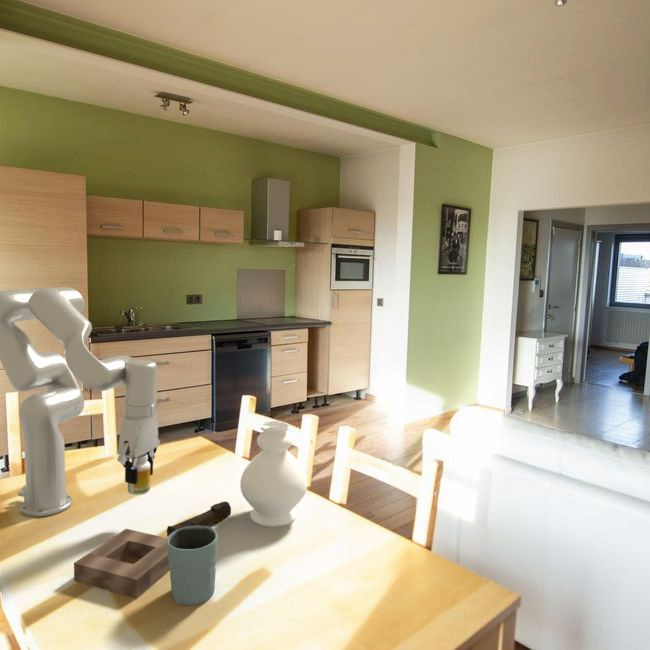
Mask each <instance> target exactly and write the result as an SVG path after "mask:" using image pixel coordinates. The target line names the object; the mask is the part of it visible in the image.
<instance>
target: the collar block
mask: <svg viewBox="0 0 650 650" xmlns="http://www.w3.org/2000/svg"><path fill="white" fill-rule="evenodd" d="M167 538H168V537H163V536H159V535H155V534H152V533H147V532H144V531H138V530H133V529H129V528H125V529H123V530H121V531H120V532H119V533H117V534H115V535H114V536H112V537H111V538H110V539H108V540H107V541H105V542H103V543H102V544H101V545H99V546H98V547H96V548H94V549H93V550H92V551H90V552H88V553H87V554H85V555H83V556H82V557H81V558H79V559H78V560H76V561H75V562H73V578H74V582H76V581H77V582H76V583H80V584H83V583H84V585H87V584H88V585H87V586H91V587H94V586H95V587H94V588H98V589H101V588H102V590H105V589H107V590H106V591H108V590H110V591H109V592H112V591H113V592H112V593H116V594H120V595H123V596H126V597H130V598H135V599H138V598H140V597H141V596H142V595H144V593H145V592H146V591H148V590H149V589H150V588H151V587H152V586H153V585H155V584H156V583H157V582H158V581H159V580H160V579H162V578H163V577H164V576H165V575H166V574H168V572H170V569H169V558H168V548H167ZM128 558H131V559H135V560H138V561H136V562H134V563H130V562H125V561H126V560H127V559H128Z"/></svg>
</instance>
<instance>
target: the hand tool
mask: <svg viewBox="0 0 650 650" xmlns="http://www.w3.org/2000/svg"><path fill="white" fill-rule="evenodd" d="M231 514H232V507H231V505H230V503H229V502H228V501H220V502H219V503H216V504H213V505H211V506H210V509H209V510H206V511H204V512H202V513H200V514H197V515H195V516H193V517H191V518H189V519H186V520H184V521H181V522H178V523H177V524H174V525H168V526H167V528H166V534H167V535H166V538H168V536H169V535H170V534H171V533H172V532H174V531H176V530H178V529H181V528H184V527H188V526H206V527H209V526H210V525H212V524H216V525H217V524H218V525H219V524H220V523H222V522H223V521H225V520H226V519H228V518H229V517H230V516H231Z"/></svg>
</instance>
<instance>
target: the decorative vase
mask: <svg viewBox="0 0 650 650" xmlns="http://www.w3.org/2000/svg"><path fill="white" fill-rule="evenodd" d="M260 430H261V431H262V432H261V433H260V434H259V435H258V436H257V438H256V444H257V446H258V447H259V448H260V449H261V451H260V452H259V453H258V454H257V455H255V456H254V457H253V458H252V459H251V460H250V462H249V463H248V464H247V466H246V467H245V469H244V471H243V472H242V475H241V478H240V492H241V494H242V496H243V498H244V499H245V501H247V503H248V504H249V505H250V506H251V508H252V510H251V511H250V512H249V513H250V514H249V517H250V520H251V522H253V523H255V524H256V525H258V526H261V527H267V528H268V527H269V528H276V527H278V528H279V527H283V525H284V526H287V525H289V524H292V523H293V522H294V521H296V519H297V518H298V514H297V513H298V512H297V510H296V509H295V507H296V506H297V505H298V504H299V503H300V501H301V500H302V499H303V498H304V497H305V495H306V493H307V490H308V477H307V473H306V471H305V469H304V468H303V466H302V465H301V463H300V462H299V460H297V458H296V457H295V456H294V455H293V454H292V453H291V452H289V450H288V449H289V448H290V447H291V446H292V444H293V441H294V440H293V436H292V434H291V433H289V432H288V431H289V430H290V424H289V423H288V422H285V421H280V420H279V421H277V420H274V421H273V420H272V421H267V422H265V421H264V422H263V423H261V424H260Z"/></svg>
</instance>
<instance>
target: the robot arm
mask: <svg viewBox="0 0 650 650" xmlns="http://www.w3.org/2000/svg"><path fill="white" fill-rule="evenodd" d="M84 309H85V299H84V297H83V296H82V294H81V293H80V292H79V291H78V290H77V289H75V288H72V287H71V286H70V287H69V286H63V287H61V286H60V287H58V286H57V287H56V286H55V287H45V288H25V289H24V288H22V289H2V290H0V363H1V365H2V367H3V369H4V372H5V374H6V377H7V378H8V380H9V382H10V384H11V385H12V387H13V388H14V389H15V390H16V391H18V392H29V391H35V390H39V389H42V388H45V387H46V390H44V391H40V392H38V393H35V394H32V395H30V396H28V397H26V398H25V399H24V400H23V401H22V402H21V403H20V406H19V409H18V419H19V422H20V426H21V430H22V436H23V445H24V465H25V468H24V469H25V485H24V486H23V487H22V488H21V490H19V491H18V492H17V495H18V496H19V497H23V500H24V501H23V502H22V503H21V504H20V507H19V508H20V514H23V515H24V516H27V517H45V516H50V515H51V516H52V515H54V514H55V515H56V514H58V513H60V512H63V511H65V510H66V509H67V510H68V509H69V508H70V507H71V506H72V504H73V496H71V495H70V494H68V493H67V488H66V458H65V457H66V455H65V453H66V452H65V451H66V450H65V449H66V448H65V440H64V436H63V434H62V432H61V431H60V430H59V427H58V425H60V424H62V423H65V422H66V421H70V420H72V419H74V418H77V417H78V416H79V415H81V414H82V412H83V410H84V408H85V398H84V394H83V392H82V389H81V387H80V385H79V384H78V383H79V382H78V381H77V379H78V380H79V381H80V382H81V383H82V384H83V385H84V386H86V388H89V390H92V391H94V392H95V391H96V392H105V391H108V390H110V389H114V388H118V387H120V386H121V387H122V386H125V388H124V389H125V390H124V391H125V393H124V395H125V396H124V397H125V398H124V416H123V417H122V420H121V423H120V430H119V439H118V457H117V461H118V462H119V463H120V464H121V465H122V466H123V468H124V469H125V470H124V482H125V483H127V484H128V483H131V484H136V483H137V468H135V467H136V463H137V459H138V457H139V456H141V455H143V454H145V453H147V454H148V460H147V461H148V462H149V463H150V476H152V475H153V474H154V460H155V456H156V455H155V454H156V452H157V449H158V447H159V446H160V444H161V440H160V439H159V423H158V414H157V405H158V404H157V402H158V401H157V399H158V397H157V396H158V364H157V363H156V362H155V361H152V360H148V359H147V360H146V359H137V358H134V357H131V356H128V355H122V354H120V355H116V356H111V357H107V358H104V359H98V358H97V357H96V356H95V355H94V354H93V353H92V352H91V351H90V350H89V349H88V347H87V346H86V344H85V341H86V340H87V339H88V337H89V336H90V335H91V332H92V330H93V326H92V325H93V324H92V323H91V321H89V319H87V317H85V315H84V314H82V313H83V311H84ZM31 320H38V321H39V322H40V323H41V324H42V325H43V326H44V327H45V328H46V329H47V330H48V331H49V332H50V333H51V334H52V335H53V336H54V337H55V338H56V339H57V340H58V341H59V342H60V343H61V344H62V345H63V355H64V356H62V355H61V354H60V353H58V352H55V351H41V352H37V350H36V349H35V347H34V345H33V343H32V340H31V338H30V336H29V335H28V334H26V332H25V331H24V330H23V329H21V328H20V327H19V326H17V325H16V323H15V322H22V321H31ZM131 458H132V459H133V460H132V461H131ZM131 462H132V463H131Z"/></svg>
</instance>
